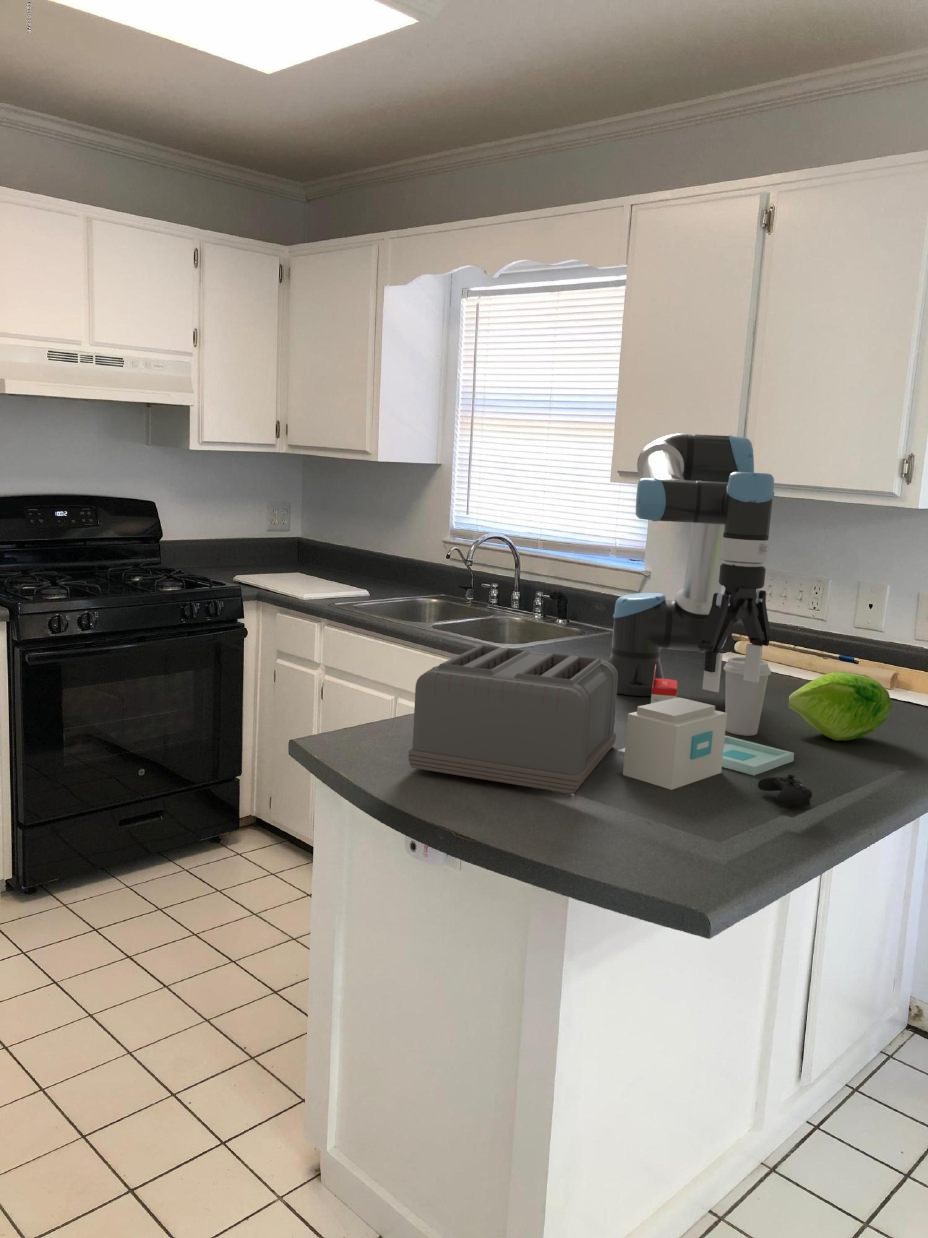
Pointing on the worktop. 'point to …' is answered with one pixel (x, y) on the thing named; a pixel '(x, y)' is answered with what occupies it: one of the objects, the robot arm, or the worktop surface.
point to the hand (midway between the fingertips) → (731, 685)
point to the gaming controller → (786, 790)
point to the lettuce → (842, 704)
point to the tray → (752, 756)
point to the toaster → (515, 717)
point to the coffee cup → (743, 697)
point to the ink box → (663, 689)
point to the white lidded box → (674, 742)
